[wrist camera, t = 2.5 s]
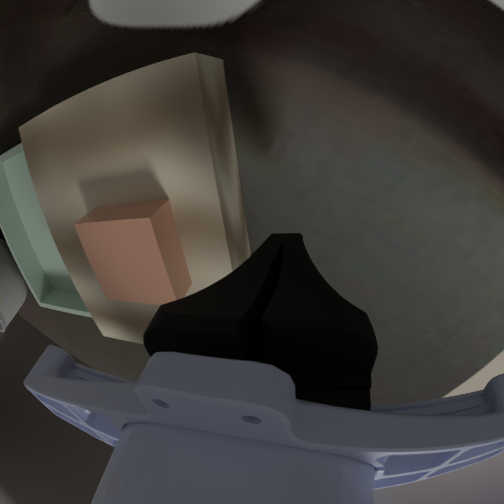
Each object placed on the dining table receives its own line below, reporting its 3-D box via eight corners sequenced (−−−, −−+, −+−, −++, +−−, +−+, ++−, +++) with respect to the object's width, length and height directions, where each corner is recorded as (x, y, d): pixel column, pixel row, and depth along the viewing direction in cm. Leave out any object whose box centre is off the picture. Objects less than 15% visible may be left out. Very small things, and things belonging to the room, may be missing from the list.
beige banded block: (260, 317, 22) (250, 357, 19) (123, 305, 25) (103, 335, 21) (222, 59, 12) (195, 52, 9) (58, 114, 15) (18, 127, 12)
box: (116, 297, 24) (100, 319, 22) (54, 289, 27) (40, 306, 24) (56, 128, 16) (28, 138, 14) (2, 157, 18) (-20, 168, 16)
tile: (192, 282, 16) (179, 306, 14) (122, 279, 17) (106, 299, 15) (169, 199, 13) (149, 217, 12) (95, 207, 14) (73, 224, 13)
